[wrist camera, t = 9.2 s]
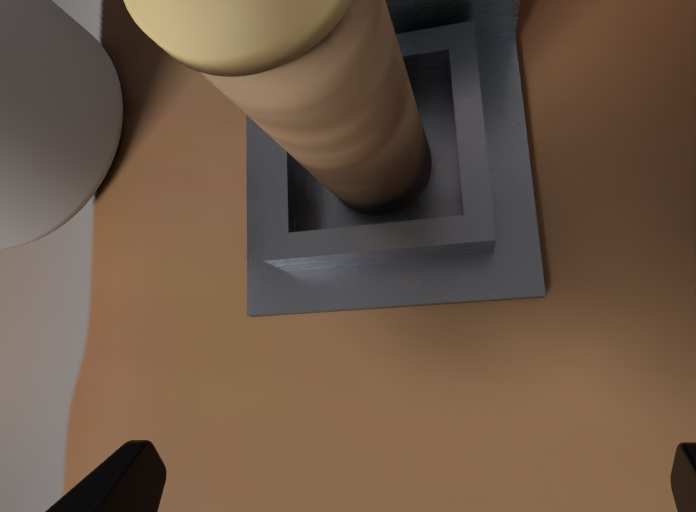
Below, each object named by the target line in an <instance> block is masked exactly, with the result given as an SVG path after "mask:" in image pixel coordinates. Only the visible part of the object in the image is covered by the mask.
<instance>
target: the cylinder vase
mask: <svg viewBox="0 0 696 512" xmlns="http://www.w3.org/2000/svg"><path fill="white" fill-rule="evenodd" d="M122 122H123V98H122V91H121V86H120V82H119V78H118V75H117V72H116V69H115V67H114V65H113V63H112V61H111V59H110V57H109V55H108V54H107V52H106V51H105V49H104V48H103V47H102V45H101V44H100V43H99V42H98V41H97V40H96V39H95V38H94V37H93V36H92V35H91V34H90V33H89V32H87V30H85V29H84V28H83V27H82V26H81V25H79V24H78V23H77V22H76V21H75V20H74V19H72V18H71V17H70V16H69V15H68V14H67V13H65V12H64V11H63V10H62V9H60V7H58V6H57V5H56V4H55V3H54V2H52V1H51V0H0V249H4V248H11V247H16V246H20V245H23V244H27V243H30V242H33V241H35V240H37V239H40V238H42V237H44V236H45V235H48V234H49V233H51V232H53V231H54V230H56V229H58V228H59V227H60V226H62V225H63V224H65V223H66V222H67V221H69V220H70V219H71V218H72V217H73V216H74V215H75V214H76V213H78V212H79V211H80V210H81V209H82V208H83V207H84V205H85V204H86V203H87V202H88V201H89V200H90V198H91V197H92V196H93V195H94V193H95V192H96V190H97V189H98V188H99V186H100V184H101V183H102V181H103V180H104V178H105V176H106V174H107V172H108V170H109V168H110V166H111V164H112V161H113V159H114V156H115V153H116V151H117V147H118V144H119V140H120V135H121V130H122Z"/></svg>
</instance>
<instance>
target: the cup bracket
mask: <svg viewBox="0 0 696 512" xmlns="http://www.w3.org/2000/svg"><path fill="white" fill-rule="evenodd" d="M385 1H386V4H387V8H388V11H389V14H390V18H391V21H392V24H393V28H394V31H395V34H396V38H397V41H398V44H399V48H400V51H401V54H402V58H403V61H404V64H405V67H406V71H407V74H408V77H409V81H410V84H411V87H412V91H413V94H414V97H415V101H416V104H417V107H418V111H419V114H420V117H421V121H422V124H423V127H424V131H425V134H426V137H427V141H428V144H429V147H430V152H431V160H432V162H431V171H430V175H429V178H428V181H427V183H426V185H425V187H424V189H423V190H422V192H421V193H420V195H419V196H418V197H417V198H416V199H415V200H414V201H413V202H412V203H411V204H409V205H408V206H406V207H405V208H403V209H401V210H399V211H397V212H394V213H391V214H387V215H380V216H372V215H365V214H362V213H359V212H356V211H354V210H352V209H351V208H349V207H347V206H346V205H345V204H344V203H343V202H342V201H340V200H339V199H338V198H337V197H336V196H335V195H334V194H333V193H332V192H331V191H330V190H328V189H327V188H326V187H325V186H324V185H323V184H322V183H321V182H320V181H319V180H318V179H316V178H315V177H314V176H313V175H312V174H311V173H310V172H309V171H308V170H307V169H305V168H304V167H303V166H302V165H301V164H300V163H299V162H298V161H297V160H296V159H295V158H293V157H292V156H291V155H290V154H289V153H288V152H287V151H286V150H285V149H284V148H282V147H281V146H280V145H279V144H278V143H277V142H276V141H275V140H274V139H273V138H272V137H270V136H269V135H268V134H267V133H266V132H265V131H264V130H263V129H262V128H261V127H259V126H258V125H257V124H256V123H255V122H254V121H253V120H252V119H251V118H250V117H249V116H247V316H252V317H258V316H273V315H288V314H303V313H318V312H333V311H348V310H363V309H378V308H393V307H408V306H423V305H438V304H453V303H468V302H482V301H497V300H512V299H527V298H542V297H545V296H546V291H545V283H544V274H543V266H542V257H541V249H540V240H539V232H538V224H537V215H536V207H535V198H534V190H533V181H532V173H531V164H530V156H529V148H528V139H527V131H526V122H525V114H524V105H523V97H522V88H521V80H520V72H519V63H518V55H517V46H516V30H517V22H518V14H519V6H520V0H385Z"/></svg>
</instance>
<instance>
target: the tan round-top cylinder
mask: <svg viewBox="0 0 696 512" xmlns="http://www.w3.org/2000/svg"><path fill="white" fill-rule="evenodd" d="M124 3H125V5H126V8H127V10H128V11H129V13H130V15H131V16H132V18H133V20H134V21H135V22H136V24H137V25H138V26H139V27H140V28H141V30H142V31H143V32H144V33H145V34H147V35H148V36H149V37H150V38H151V39H152V40H153V41H154V42H156V43H157V44H158V45H159V46H160V47H161V48H162V49H164V50H165V51H166V52H167V53H168V54H169V55H171V56H172V57H173V58H174V59H175V60H177V61H178V62H180V63H182V64H183V65H185V66H187V67H189V68H191V69H194V70H196V71H198V72H200V73H201V74H203V75H204V76H205V77H206V78H207V79H208V80H209V81H210V82H211V83H212V84H214V85H215V86H216V87H217V88H218V89H219V90H220V91H221V92H222V93H223V94H224V95H226V96H227V97H228V98H229V99H230V100H231V101H232V102H233V103H234V104H235V105H237V106H238V107H239V108H240V109H241V110H242V111H243V112H244V113H245V114H246V115H247V116H249V117H250V118H251V119H252V120H253V121H254V122H255V123H256V124H257V125H258V126H259V127H261V128H262V129H263V130H264V131H265V132H266V133H267V134H268V135H269V136H270V137H272V138H273V139H274V140H275V141H276V142H277V143H278V144H279V145H280V146H281V147H282V148H284V149H285V150H286V151H287V152H288V153H289V154H290V155H291V156H292V157H293V158H295V159H296V160H297V161H298V162H299V163H300V164H301V165H302V166H303V167H304V168H305V169H307V170H308V171H309V172H310V173H311V174H312V175H313V176H314V177H315V178H316V179H318V180H319V181H320V182H321V183H322V184H323V185H324V186H325V187H326V188H327V189H328V190H330V191H331V192H332V193H333V194H334V195H335V196H336V197H337V198H338V199H339V200H340V201H342V202H343V203H344V204H345V205H346V206H347V207H349V208H351V209H352V210H354V211H356V212H359V213H362V214H365V215H372V216H380V215H387V214H391V213H394V212H397V211H399V210H401V209H403V208H405V207H406V206H408V205H409V204H411V203H412V202H413V201H414V200H415V199H416V198H417V197H418V196H419V195H420V193H421V192H422V190H423V189H424V187H425V185H426V183H427V181H428V178H429V175H430V171H431V162H432V160H431V152H430V147H429V144H428V141H427V137H426V134H425V131H424V127H423V124H422V121H421V117H420V114H419V111H418V107H417V104H416V101H415V97H414V94H413V91H412V87H411V84H410V81H409V77H408V74H407V71H406V67H405V64H404V61H403V58H402V54H401V51H400V48H399V44H398V41H397V38H396V34H395V31H394V28H393V24H392V21H391V18H390V14H389V11H388V8H387V4H386V1H385V0H124Z"/></svg>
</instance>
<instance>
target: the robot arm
mask: <svg viewBox="0 0 696 512" xmlns="http://www.w3.org/2000/svg"><path fill="white" fill-rule="evenodd" d="M165 481H166V467H165V465H164V463H163V461H162V459H161V458H160V456H159V454H158V452H157V450H156V449H155V447H154V445H153V444H152V443H151V442H150V441H148V440H131V441H128V442H126V443H125V444H123V445H122V446H121V447H120V448H119V449H118V450H116V451H115V452H114V453H113V454H112V455H111V456H109V457H108V458H107V459H106V460H105V461H104V462H103V463H101V464H100V465H99V466H98V467H97V468H96V469H94V470H93V471H92V472H91V473H90V474H89V475H87V476H86V477H85V478H84V479H83V480H82V481H80V482H79V483H78V484H77V485H76V486H75V487H73V488H72V489H71V490H70V491H69V492H68V493H66V494H65V495H64V496H63V497H62V498H61V499H60V500H58V501H57V502H56V503H55V504H54V505H53V506H51V507H50V508H49V509H48V510H47V511H46V512H157V511H158V508H159V504H160V500H161V496H162V493H163V489H164V485H165ZM671 487H672V492H673V496H674V500H675V503H676V507H677V511H678V512H696V443H680V444H679V445H678V446H677V449H676V453H675V458H674V463H673V467H672V472H671Z"/></svg>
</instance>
